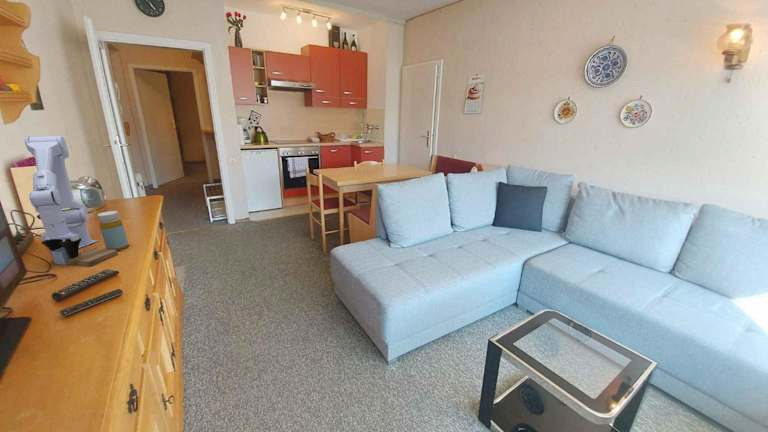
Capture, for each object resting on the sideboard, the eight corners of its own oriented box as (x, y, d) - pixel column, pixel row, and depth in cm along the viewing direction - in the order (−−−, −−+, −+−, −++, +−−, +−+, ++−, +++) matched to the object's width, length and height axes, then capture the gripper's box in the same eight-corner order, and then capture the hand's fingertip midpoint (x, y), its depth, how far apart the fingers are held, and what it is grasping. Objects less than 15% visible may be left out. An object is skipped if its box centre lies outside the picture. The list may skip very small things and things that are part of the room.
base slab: (68, 264, 114) (66, 259, 113) (97, 252, 123) (95, 248, 123) (90, 266, 112) (88, 261, 112) (118, 254, 122) (116, 249, 121)
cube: (55, 263, 115) (50, 251, 113) (70, 257, 119) (66, 245, 118) (66, 265, 114) (61, 252, 112) (81, 259, 118) (76, 246, 117)
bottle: (116, 252, 123) (105, 216, 118) (102, 251, 125) (91, 215, 120) (133, 245, 130) (123, 211, 125) (119, 244, 131) (109, 210, 126)
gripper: (24, 225, 109) (39, 260, 113) (57, 227, 106) (70, 263, 111) (48, 218, 116) (61, 252, 120) (80, 220, 113) (91, 255, 117)
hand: (67, 257), depth 116 cm, fingers open, 6 cm apart
